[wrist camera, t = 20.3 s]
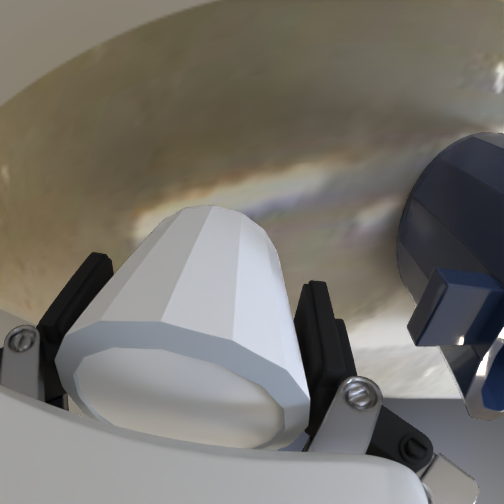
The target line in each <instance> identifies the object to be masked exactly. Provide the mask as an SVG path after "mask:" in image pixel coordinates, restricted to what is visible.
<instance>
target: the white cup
mask: <svg viewBox="0 0 504 504" xmlns="http://www.w3.org/2000/svg"><path fill="white" fill-rule="evenodd" d="M55 364H56V367H57V371H58V374H59V377H60V380H61V384H62V387H63V388H64V390H65V391H66V392H67V393H68V395H69V396H70V397H71V398H72V399H73V401H74V402H75V403H76V404H77V405H78V407H79V408H80V409H81V410H82V411H83V412H84V413H85V414H86V415H88V416H89V417H90V418H92V419H94V420H97V421H101V422H104V423H108V424H111V425H115V426H119V427H122V428H126V429H130V430H134V431H138V432H143V433H147V434H152V435H156V436H161V437H166V438H172V439H177V440H183V441H189V442H195V443H201V444H208V445H216V446H224V447H233V448H243V449H255V450H271V451H276V450H278V449H281V448H283V447H286V446H288V445H290V444H291V443H292V442H293V441H294V440H295V439H296V438H297V437H298V436H299V435H300V434H301V433H302V432H303V431H304V430H305V429H306V428H307V427H308V424H309V411H310V396H309V391H308V387H307V382H306V377H305V372H304V368H303V363H302V358H301V354H300V349H299V345H298V340H297V336H296V331H295V327H294V322H293V318H292V313H291V309H290V304H289V300H288V296H287V291H286V287H285V283H284V278H283V274H282V270H281V265H280V261H279V257H278V253H277V251H276V249H275V247H274V245H273V244H272V242H271V240H270V238H269V237H268V235H267V233H266V232H265V230H264V229H263V228H261V227H260V226H259V225H257V224H256V223H255V222H253V221H252V220H251V219H249V218H248V217H247V216H245V215H244V214H243V213H240V212H237V211H233V210H230V209H226V208H223V207H219V206H215V205H208V206H198V207H188V208H184V209H182V210H180V211H179V212H177V213H175V214H173V215H171V216H170V217H168V218H166V219H164V220H163V221H162V222H161V223H160V224H159V225H158V226H157V227H156V228H155V229H154V230H153V231H152V232H151V234H150V235H149V236H148V237H147V238H146V239H145V240H144V241H143V242H142V243H141V245H140V246H139V247H138V248H137V249H136V250H135V251H134V252H133V254H132V255H131V256H130V257H129V258H128V259H127V260H126V261H125V263H124V264H123V265H122V266H121V267H120V268H119V270H118V271H117V272H116V273H115V274H114V275H113V277H112V278H111V279H110V280H109V281H108V282H107V284H106V285H105V286H104V287H103V288H102V290H101V291H100V292H99V293H98V294H97V296H96V297H95V298H94V299H93V301H92V302H91V303H90V304H89V306H88V307H87V308H86V309H85V311H84V312H83V313H82V314H81V316H80V317H79V318H78V319H77V321H76V322H75V323H74V325H73V326H72V327H71V328H70V330H69V331H68V332H67V334H66V335H65V336H64V339H63V341H62V343H61V346H60V348H59V351H58V353H57V355H56V358H55Z"/></svg>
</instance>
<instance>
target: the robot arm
mask: <svg viewBox="0 0 504 504" xmlns="http://www.w3.org/2000/svg"><path fill="white" fill-rule="evenodd" d="M113 275H114V273H113V266H112V260H111V259H110V258H108V256H107V255H106V254H102V253H96V252H92V253H91V254H90V255H89V256H88V258H87V259H86V260H85V261H84V263H83V264H82V265H81V266H80V268H79V269H78V270H77V271H76V273H75V274H74V275H73V276H72V278H71V279H70V280H69V282H68V283H67V284H66V286H65V287H64V288H63V290H62V291H61V292H60V294H59V295H58V296H57V298H56V299H55V300H54V302H53V303H52V304H51V306H50V307H49V309H48V310H47V311H46V313H45V314H44V316H43V317H42V319H41V320H40V321H39V324H38V325H37V327H36V328H35V327H34V326H31V325H21V326H18V327H16V328H14V329H12V330H11V331H10V332H9V333H8V335H7V336H6V338H5V341H4V347H3V348H0V504H475V502H476V501H477V498H478V495H479V486H478V484H477V482H476V480H475V479H474V478H473V477H471V476H470V475H468V474H467V473H466V472H464V471H463V470H462V469H460V468H459V467H458V466H456V465H455V464H453V463H452V462H451V461H450V460H449V459H447V458H446V457H444V456H443V455H442V454H441V453H439V454H438V455H436V454H435V453H434V452H433V446H432V443H431V441H430V440H429V438H428V437H427V436H426V435H425V434H423V433H422V432H420V431H419V430H417V429H416V428H414V427H413V426H411V425H410V424H409V423H407V422H406V421H404V420H403V419H401V418H400V417H399V416H397V415H396V414H394V413H393V412H391V411H390V410H389V409H387V408H386V407H384V406H383V405H382V400H383V396H382V392H381V390H380V388H379V387H378V385H377V384H376V383H374V382H373V381H372V380H370V379H368V378H366V377H362V376H357V372H356V368H355V363H354V359H353V355H352V351H351V347H350V343H349V339H348V335H347V331H346V327H345V323H344V321H343V320H342V319H335V317H334V313H333V309H332V305H331V301H330V296H329V292H328V288H327V284H326V282H322V281H313V280H310V281H309V284H304V285H303V288H302V291H301V295H300V299H299V303H298V306H297V310H296V314H295V317H294V321H293V322H294V327H295V331H296V336H297V340H298V345H299V349H300V354H301V358H302V363H303V368H304V372H305V377H306V382H307V387H308V391H309V396H310V411H309V424H308V427H307V428H306V429H305V432H306V433H307V434H308V435H309V436H310V437H309V439H308V441H307V442H306V444H305V446H304V448H303V450H302V452H289V451H288V452H287V451H271V450H255V449H243V448H233V447H224V446H216V445H208V444H201V443H195V442H189V441H183V440H177V439H172V438H166V437H161V436H156V435H152V434H147V433H143V432H138V431H134V430H130V429H126V428H122V427H119V426H115V425H111V424H108V423H104V422H101V421H97V420H94V419H91V418H87V417H84V416H81V415H78V414H75V413H72V412H69V408H68V396H67V392H66V391H65V390H64V388H63V387H62V384H61V380H60V377H59V374H58V371H57V367H56V364H55V358H56V355H57V353H58V351H59V348H60V346H61V343H62V341H63V339H64V336H65V335H66V334H67V332H68V331H69V330H70V328H71V327H72V326H73V325H74V323H75V322H76V321H77V319H78V318H79V317H80V316H81V314H82V313H83V312H84V311H85V309H86V308H87V307H88V306H89V304H90V303H91V302H92V301H93V299H94V298H95V297H96V296H97V294H98V293H99V292H100V291H101V290H102V288H103V287H104V286H105V285H106V284H107V282H108V281H109V280H110V279H111V278H112V277H113Z"/></svg>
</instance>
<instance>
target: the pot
mask: <svg viewBox="0 0 504 504" xmlns="http://www.w3.org/2000/svg"><path fill="white" fill-rule="evenodd" d="M397 260H398V267H399V271H400V276H401V279H402V281H403V283H404V285H405V287H406V289H407V290H408V292H409V294H410V296H411V298H412V300H413V302H414V304H415V306H416V309H415V311H414V313H413V315H412V317H411V319H410V321H409V323H408V325H407V329H408V331H409V333H410V335H411V338H412V340H413V342H414V344H415V346H417V347H418V346H437V347H438V349H439V351H440V353H441V355H442V357H443V359H444V361H445V363H446V365H447V367H448V369H449V371H450V373H451V375H452V377H453V380H454V382H455V384H456V386H457V388H458V390H459V393H460V395H461V397H462V399H463V402H464V404H465V406H466V409H467V411H468V414H469V416H470V417H471V418H476V419H482V420H487V421H490V420H494V419H497V418H500V417H503V416H504V134H503V133H492V132H483V133H477V134H472V135H469V136H467V137H464V138H461V139H459V140H458V141H456V142H454V143H453V144H451V145H450V146H448V147H447V148H446V149H445V150H443V151H442V152H441V153H440V154H439V155H438V156H437V157H436V158H435V159H434V160H433V161H432V162H431V163H430V164H429V165H428V167H427V168H426V169H425V171H424V172H423V173H422V175H421V176H420V178H419V179H418V181H417V183H416V184H415V186H414V188H413V190H412V192H411V194H410V196H409V198H408V200H407V203H406V206H405V208H404V211H403V214H402V218H401V222H400V226H399V231H398V238H397Z"/></svg>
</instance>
